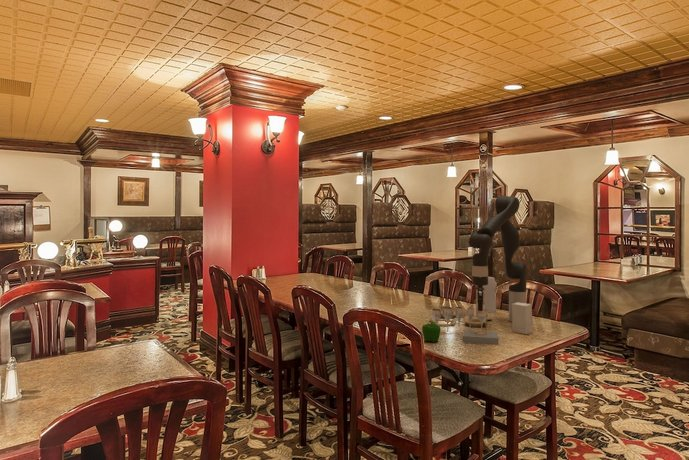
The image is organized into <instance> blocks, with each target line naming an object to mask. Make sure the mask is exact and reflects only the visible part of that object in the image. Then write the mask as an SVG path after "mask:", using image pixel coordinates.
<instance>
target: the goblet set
mask: <svg viewBox="0 0 689 460" xmlns="http://www.w3.org/2000/svg"><path fill="white" fill-rule="evenodd" d="M440 309H441V308H440ZM440 309H438V308H433V309H432V310H431V315H432V316H431V318H433V319H434V320H435V322H436V325H437V323H438V321H439V319H441V318H442V317H441V310H443V316H444V318H443V319H446V321H447V326H446V327H447V328H446V329H447V332H448V331H449V326H448V323H449V320H452V318H451V317H452V315H453V311H455V314H456V315H455V317H456V319H457V320H456V321H457V323H458V326H461V325H460V324H461V320H462V317H463V311H464V310H463V307H461V306H457V307H455V310H453V307H451V306H444V307H442V309H441V310H440ZM474 310H475V309H474V307H467V308H466V315H467V316H468V319H469V322H470V326H469V330H472V328H471V327H472V326H471V321H472V318H473V316H474V315H476V317H477V319H478V320H479V321H480V322H481V326H480V327H481V331H479V332H477V334H476V335H486V332H485V331H483V322H484V321H485V320H486V319H487V317H489V316H488V315H489V313H487V311H486V310H485V314H476V313H475V311H474ZM456 332H457V333H463V332H462V331H456Z"/></svg>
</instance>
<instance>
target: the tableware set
mask: <svg viewBox="0 0 689 460" xmlns="http://www.w3.org/2000/svg"><path fill="white" fill-rule="evenodd" d="M437 309H440V310H441V317H440V319H439V321H445V322H447V321H446V319H445V318H443V317H444V316H443V309H441V308H439V307H438V308H437ZM455 316H456V314H455V310H453V315H452V317H451V319H450V320H449V322H451V323H450V324H448V327H452V326H451V325H453V326H455V325H456V323H457V321H458V320H457V318H454V317H455ZM428 319H429V320H430V321H431V322H432V321H435V320H434V319H433V317H429V318H428ZM493 319H494V318H492V317H489V316H488V317H487V319H486V320H485V321H484V322H483V324H487V321H490V320H492V321H493ZM463 321H464V323H466V324H467V325H468V326H469V327H470V322H469V319H468V316H467V314H466V315H465V316H464V317H463ZM431 322H430V323H431ZM433 324H434V323H433ZM435 324H436V323H435ZM483 324H482V325H483ZM437 325H439V326H440V327H447V324H438V323H437ZM471 327H474V328H477V327H478V328H479V327H481V322H480V321H479V320H478V319H477V317H476V314H474V316H473V318H472V321H471Z"/></svg>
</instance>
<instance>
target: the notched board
mask: <svg viewBox="0 0 689 460" xmlns="http://www.w3.org/2000/svg"><path fill="white" fill-rule="evenodd" d="M462 331H463V332H462V333H463V335H462V343H465V342H466V343H468V344H470V343H471V344H484V345H485V344H487V345H499V336H498V331H493V330H492V331H491V330H490V331H489V330H486V332H485V333H486V334H485V335H481V334H475V329H474V330H473V329H471V330H470V329H463V330H462Z"/></svg>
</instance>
